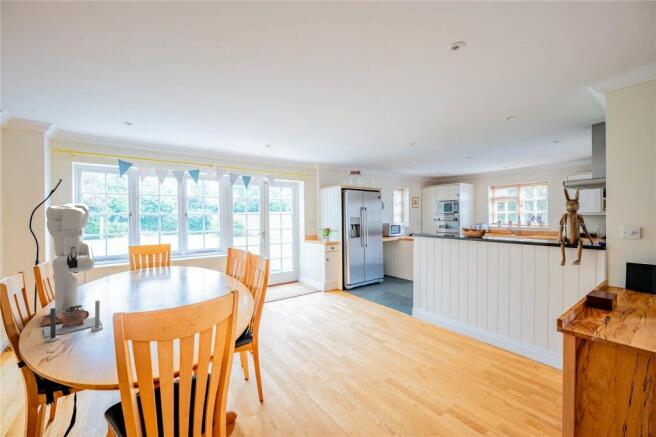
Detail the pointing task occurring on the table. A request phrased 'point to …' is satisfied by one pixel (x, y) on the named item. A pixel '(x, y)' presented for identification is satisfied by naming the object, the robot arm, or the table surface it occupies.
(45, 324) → the sunglasses case
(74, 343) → the table surface
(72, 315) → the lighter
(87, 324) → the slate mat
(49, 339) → the dark grey post
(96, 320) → the grey post
